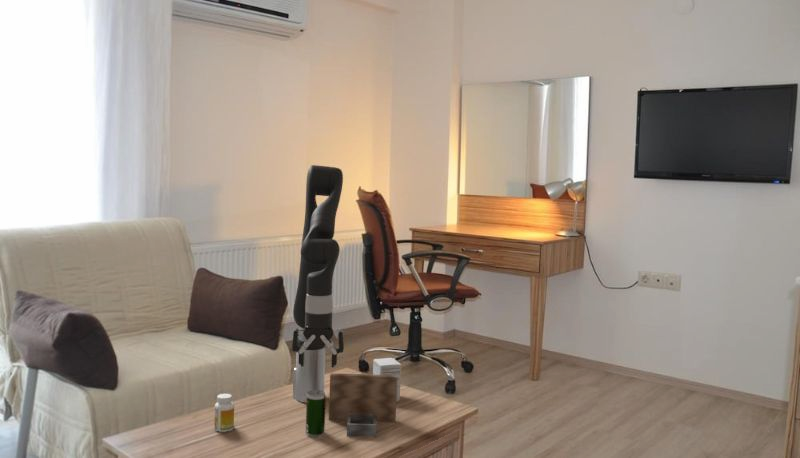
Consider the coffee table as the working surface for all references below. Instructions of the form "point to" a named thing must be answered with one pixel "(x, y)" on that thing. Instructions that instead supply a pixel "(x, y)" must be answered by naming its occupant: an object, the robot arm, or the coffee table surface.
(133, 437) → the coffee table surface
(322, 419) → the beer can
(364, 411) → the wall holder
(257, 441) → the coffee table surface
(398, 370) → the supplement box
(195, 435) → the coffee table surface
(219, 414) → the supplement bottle
